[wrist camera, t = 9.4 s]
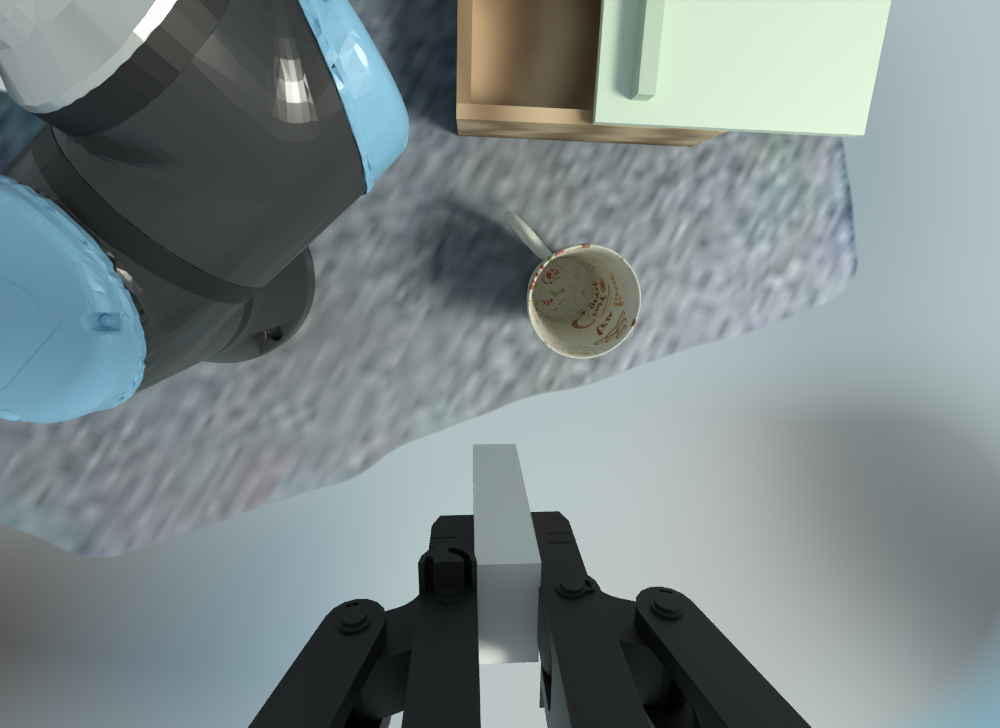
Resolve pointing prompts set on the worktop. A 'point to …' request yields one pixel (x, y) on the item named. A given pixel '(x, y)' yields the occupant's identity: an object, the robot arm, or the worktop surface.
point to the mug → (579, 296)
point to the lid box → (539, 74)
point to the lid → (739, 64)
